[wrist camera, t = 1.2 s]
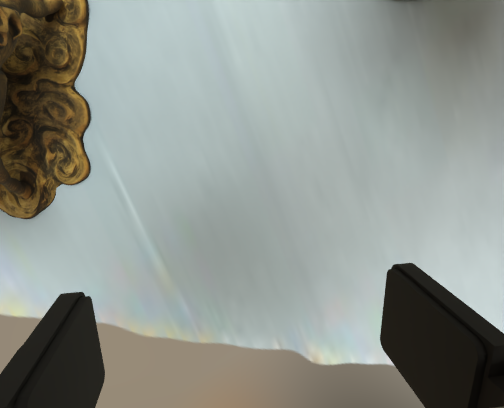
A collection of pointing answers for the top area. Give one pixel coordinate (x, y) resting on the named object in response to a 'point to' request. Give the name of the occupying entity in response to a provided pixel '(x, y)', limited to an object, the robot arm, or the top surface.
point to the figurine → (41, 102)
